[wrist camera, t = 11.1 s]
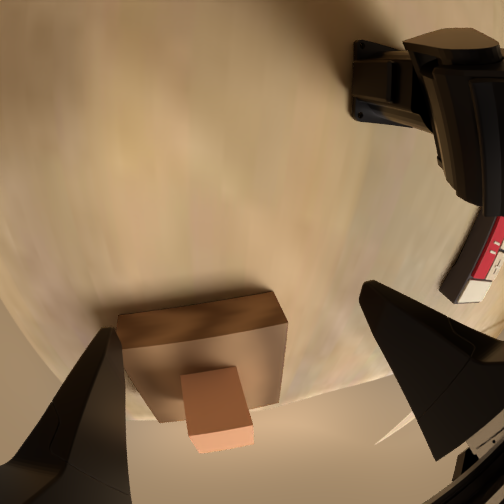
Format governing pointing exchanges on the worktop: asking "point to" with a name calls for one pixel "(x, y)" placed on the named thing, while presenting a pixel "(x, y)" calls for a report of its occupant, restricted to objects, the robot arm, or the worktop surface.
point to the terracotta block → (216, 410)
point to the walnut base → (205, 349)
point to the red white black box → (476, 262)
